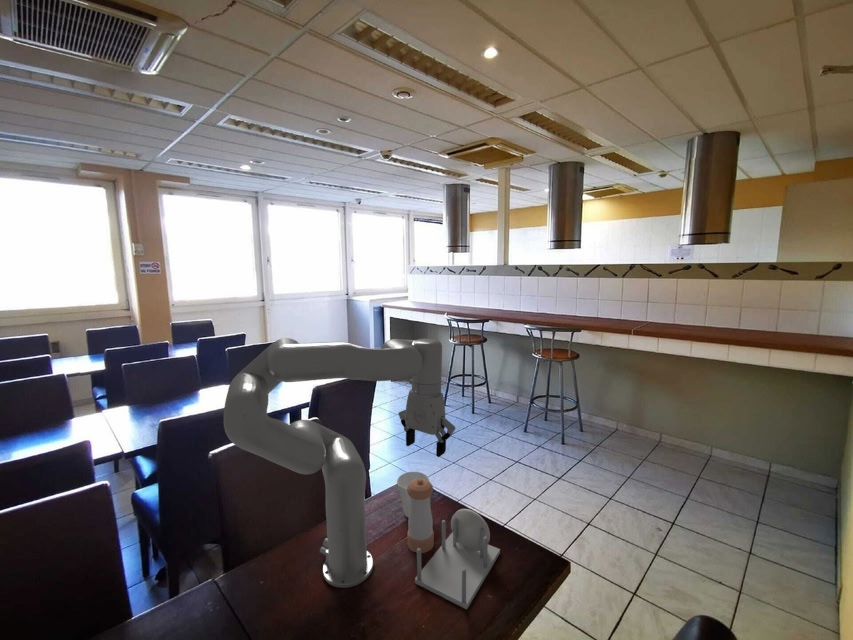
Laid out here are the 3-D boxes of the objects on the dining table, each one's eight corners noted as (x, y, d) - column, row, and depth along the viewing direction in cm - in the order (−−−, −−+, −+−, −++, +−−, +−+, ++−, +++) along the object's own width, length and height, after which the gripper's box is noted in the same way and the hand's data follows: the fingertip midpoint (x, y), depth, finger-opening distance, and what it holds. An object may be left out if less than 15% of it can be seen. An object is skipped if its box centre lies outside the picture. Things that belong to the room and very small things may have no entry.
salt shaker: (432, 533, 114) (432, 471, 111) (435, 552, 107) (434, 486, 103) (407, 535, 113) (406, 473, 110) (407, 554, 106) (406, 488, 103)
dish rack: (414, 583, 97) (414, 537, 95) (453, 534, 113) (453, 494, 111) (466, 609, 89) (467, 561, 87) (499, 553, 106) (501, 511, 104)
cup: (416, 528, 116) (415, 493, 114) (390, 515, 122) (390, 482, 120) (436, 510, 124) (435, 478, 122) (411, 499, 130) (410, 468, 128)
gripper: (391, 384, 104) (390, 445, 107) (447, 398, 95) (445, 465, 97) (408, 377, 110) (407, 435, 113) (463, 390, 101) (460, 453, 103)
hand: (425, 449), depth 105 cm, fingers open, 9 cm apart
